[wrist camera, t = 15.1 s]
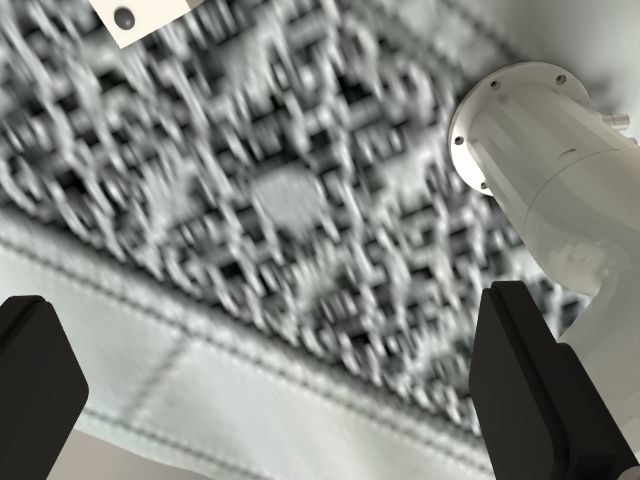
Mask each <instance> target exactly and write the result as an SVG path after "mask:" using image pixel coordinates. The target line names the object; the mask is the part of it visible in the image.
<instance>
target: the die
mask: <svg viewBox="0 0 640 480" xmlns="http://www.w3.org/2000/svg"><path fill="white" fill-rule="evenodd" d="M89 1H90V3H91V4H92V6H93V7H94V9H95V10H96V12H97V13H98V15H99V17H100V18H101V20H102V21H103V23H104V24H105V26H106V27H107V29H108V30H109V32H110V33H111V35H112V36H113V38H114V39H115V41H116V42H117V44H118V45H119V47H120V48H121V49H122V48H124V47H125V46H127V45H129V44H131V43H133V42H135V41H136V40H138V39H140V38H142V37H144V36H145V35H147V34H149V33H151V32H153V31H154V30H156V29H158V28H160V27H162V26H163V25H165V24H167V23H169V22H171V21H173V20H174V19H176V18H178V17H180V16H182V15H183V14H185V13H187V12H189V11H191V10H192V9H194V8H195V7H196V6H198V5H199V4H201V3H202V2H204V1H205V0H89Z"/></svg>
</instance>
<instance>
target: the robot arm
mask: <svg viewBox="0 0 640 480" xmlns="http://www.w3.org/2000/svg"><path fill="white" fill-rule="evenodd" d="M558 76H559V79H557V77H558ZM556 79H557V80H556ZM493 81H495V84H494V85H491V83H492V82H493ZM629 121H630V120H629V116H628V115H627V114H614V115H609V116H603V115H602V114H600V113H599V112H597V111H596V110H594V109H593V108H592V107H591V101H590V98H589V96H588V93H587V91H586V89H585V88H584V86H583V85H582V84H581V82H580V81H579V80H578V79H577V78H576V77H574V76H573V75H572V74H571V73H570V72H568V71H566V70H564V69H563V68H561V67H558V66H555V65H553V64H550V63H545V62H536V61H532V62H521V63H517V64H513V65H509V66H506V67H504V68H501V69H499V70H497V71H495V72H493V73H491V74H490V75H488V76H487V77H485V78H484V79H482V80H481V81H479V82H478V83H477V84H476V85H475V86H474V87H473V88H472V89H471V90H470V91H469V92H468V93H467V95H466V96H465V97H464V99H463V100H462V101H461V103H460V104H459V106H458V108H457V110H456V112H455V114H454V116H453V118H452V122H451V125H450V128H449V136H448V148H449V155H450V158H451V161H452V164H453V166H454V167H455V169H456V171H457V173H458V174H459V175H460V177H461V178H462V179H463V181H464V182H466V183H467V184H468V185H469V186H470V187H472V188H473V189H475V190H477V191H479V192H481V193H484V194H487V195H491V196H494V198H495V199H496V201H497V202H498V204H499V205H500V207H501V208H502V210H503V212H504V213H505V215H506V216H507V218H508V219H509V221H510V222H511V224H512V225H513V227H514V228H515V230H516V232H517V233H518V235H519V236H520V238H521V239H522V241H523V242H524V244H525V245H526V247H527V248H528V250H529V251H530V253H531V255H532V256H533V258H534V259H535V261H536V262H537V264H538V265H539V266H540V268H541V269H542V270H543V271H544V273H546V274H547V275H548V276H549V277H550V278H551V279H552V280H553V281H555V282H556V283H558V284H560V285H561V286H563V287H565V288H567V289H569V290H571V291H573V292H576V293H579V294H583V295H586V296H590V297H594V299H593V300H592V302H591V303H590V304H589V305H588V306H587V307H586V308H585V310H584V311H583V312H582V313H581V314H580V315H579V316H578V317H577V318H576V319H575V321H574V323H573V324H572V325H571V326H570V327H569V328H568V329H567V330H566V331H565V332H564V333H563V334H562V336H561V337H560V338H559V339H558V340H557V341H556V340H555V338H554V337H553V335H552V333H551V331H550V329H549V327H548V326H547V324H546V322H545V320H544V318H543V317H542V315H541V313H540V311H539V309H538V307H537V306H536V304H535V302H534V300H533V298H532V296H531V295H530V293H529V291H528V289H527V287H526V285H525V284H524V283H523V281H494V282H493V283H492V284H491V288H485V289H483V291H482V296H481V302H480V308H479V315H478V321H477V327H476V334H475V340H474V347H473V353H472V359H471V366H470V372H469V389H470V394H471V397H472V401H473V404H474V407H475V410H476V414H477V417H478V420H479V424H480V427H481V430H482V434H483V437H484V440H485V444H486V447H487V450H488V454H489V457H490V460H491V464H492V467H493V470H494V474H495V477H496V480H640V146H638V144H637V141H636V139H635V138H633V137H625V136H624V135H623V134H621V133H620V132H618V131H617V130H626V129H627V128H628V126H629ZM456 137H459V139H457V140H455V138H456ZM482 182H483V183H482ZM88 394H89V387H88V384H87V381H86V379H85V377H84V375H83V372H82V370H81V368H80V366H79V363H78V361H77V359H76V357H75V354H74V352H73V350H72V348H71V345H70V343H69V341H68V339H67V336H66V334H65V332H64V330H63V327H62V325H61V323H60V321H59V318H58V316H57V314H56V312H55V310H54V307H53V306H52V304H51V303H50V302H46V301H45V299H44V298H43V297H42V296H39V295H28V296H12V297H9V298H8V299H7V300H5V302H4V303H3V304H2V305H1V306H0V480H46V479H47V477H48V475H49V473H50V471H51V469H52V467H53V465H54V463H55V461H56V459H57V457H58V456H59V453H60V452H61V450H62V448H63V446H64V444H65V442H66V440H67V438H68V436H69V434H70V432H71V430H72V429H73V427H74V425H75V423H76V421H77V419H78V417H79V415H80V413H81V411H82V409H83V407H84V405H85V404H86V401H87V399H88Z"/></svg>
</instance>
